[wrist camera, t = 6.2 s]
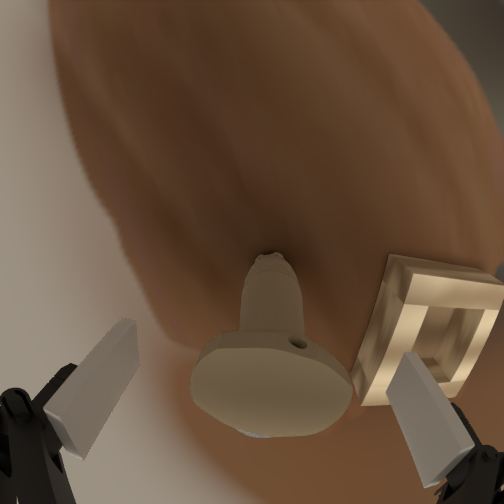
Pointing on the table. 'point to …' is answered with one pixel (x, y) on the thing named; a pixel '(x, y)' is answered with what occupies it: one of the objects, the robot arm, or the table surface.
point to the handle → (270, 363)
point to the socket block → (426, 324)
